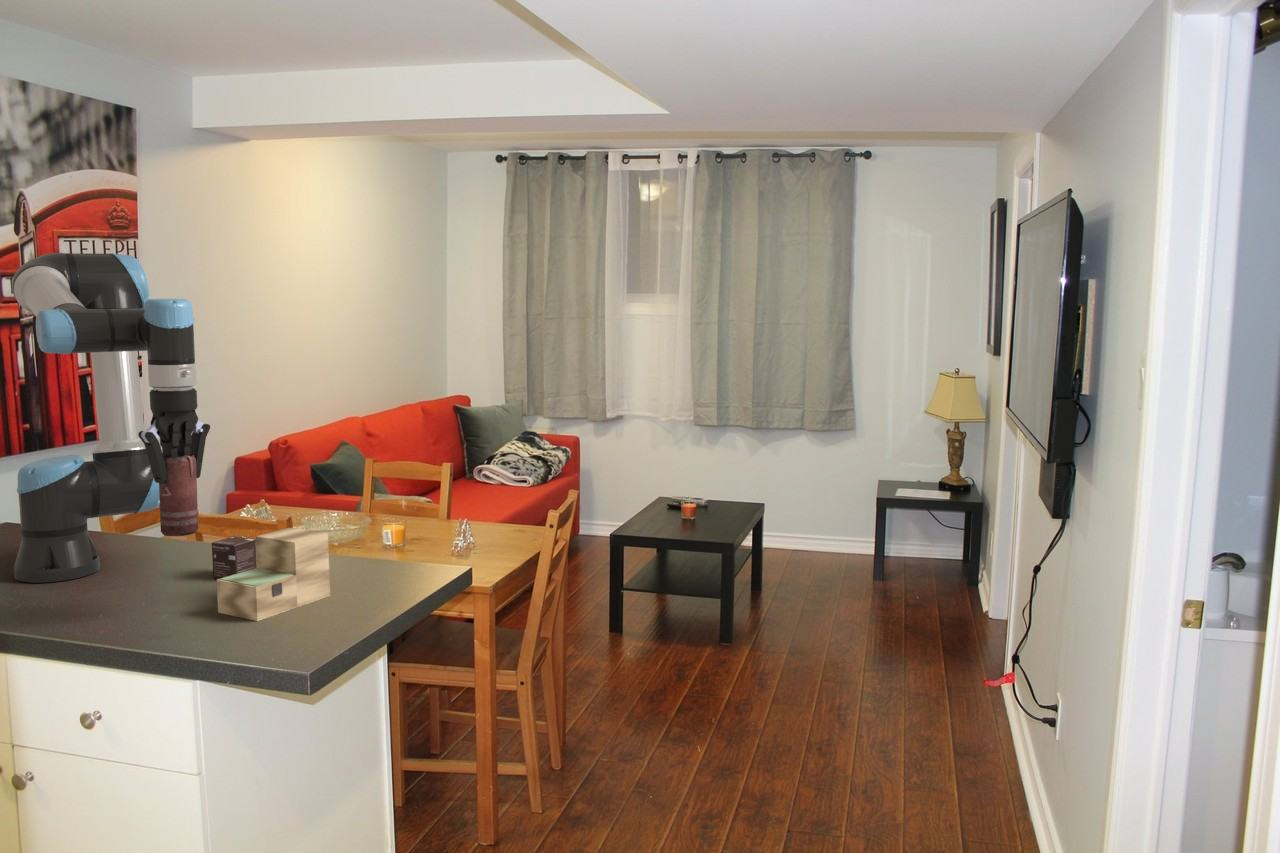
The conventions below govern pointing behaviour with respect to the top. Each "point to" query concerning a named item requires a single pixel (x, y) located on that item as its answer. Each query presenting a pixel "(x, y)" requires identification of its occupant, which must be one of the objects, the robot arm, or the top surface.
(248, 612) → the stand
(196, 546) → the top surface
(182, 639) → the top surface
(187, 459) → the can
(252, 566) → the box
